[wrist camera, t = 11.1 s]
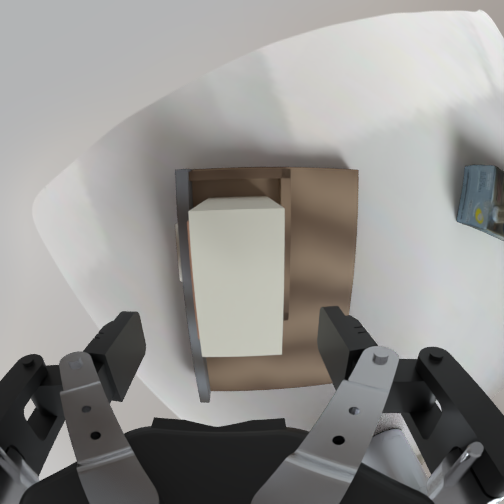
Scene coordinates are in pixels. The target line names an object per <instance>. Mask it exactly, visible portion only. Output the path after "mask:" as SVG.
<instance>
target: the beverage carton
mask: <svg viewBox="0 0 504 504" xmlns="http://www.w3.org/2000/svg"><path fill="white" fill-rule="evenodd" d="M457 222H459V223H462V224H464V225H467V226H471V227H473V228H475V229H478V230H480V231H483V232H485V233H487V234H489V235H491V236H494V237H496V238H498V239H500V240H502V241H504V171H503V170H500V169H499V168H498V167H496V166H494V165H470V166H465V171H464V180H463V188H462V194H461V200H460V205H459V210H458V216H457Z"/></svg>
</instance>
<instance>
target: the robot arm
mask: <svg viewBox="0 0 504 504" xmlns="http://www.w3.org/2000/svg"><path fill="white" fill-rule="evenodd" d="M317 345H318V350H319V353H320V355H321V357H322V360H323V362H324V364H325V367H326V369H327V371H328V373H329V376H330V378H331V380H332V383H333V385H334V387H335V390H336V392H335V394H334V396H333V397H332V399H331V401H330V402H329V404H328V405H327V407H326V408H325V410H324V412H323V413H322V415H321V416H320V418H319V419H318V421H317V422H316V424H315V425H314V426H313V428H312V429H311V431H310V432H308V431H305V430H301V429H296V428H290V427H286V424H285V419H284V418H280V419H267V420H251V421H247V422H242V423H237V424H232V425H227V426H222V427H213V426H208V425H204V424H199V423H195V422H191V421H187V420H178V419H164V418H154V420H153V423H152V426H148V427H143V428H138V429H135V430H132V431H129V432H127V433H125V434H124V433H123V431H122V429H121V427H120V425H119V423H118V421H117V419H116V417H115V415H114V413H113V410H112V408H111V406H110V402H111V401H112V400H113V401H119V402H122V401H123V399H124V397H125V395H126V393H127V390H128V388H129V386H130V384H131V382H132V380H133V378H134V376H135V374H136V372H137V370H138V367H139V365H140V363H141V361H142V359H143V357H144V355H145V351H146V343H145V338H144V334H143V329H142V324H141V319H140V315H139V313H138V312H127V311H122V312H121V313H120V314H119V315H118V316H117V317H116V319H115V320H114V321H111V322H110V323H108V324H106V325H105V326H103V328H102V329H101V330H100V331H99V334H97V335H96V336H95V339H93V340H92V341H91V342H90V343H89V345H88V346H87V347H86V348H85V350H84V351H83V352H73V353H70V354H68V355H66V356H64V357H63V358H62V359H61V361H60V363H59V365H50V366H46V365H45V363H44V360H43V358H42V357H41V356H40V355H37V354H31V355H27V356H24V357H22V358H21V359H19V360H18V362H17V363H16V364H15V365H14V366H13V367H12V368H11V369H10V370H9V372H8V373H7V374H6V375H5V376H4V377H3V379H2V380H1V381H0V504H497V503H499V502H500V501H501V500H502V499H503V498H504V415H503V414H502V413H501V412H500V410H499V409H498V408H497V407H496V406H495V404H494V403H493V402H492V401H491V399H490V398H489V397H488V396H487V395H486V394H485V392H484V391H483V390H482V389H481V388H480V387H479V385H478V384H477V383H476V382H475V381H474V380H473V379H472V378H471V376H470V375H469V374H468V373H467V372H466V371H465V370H464V369H463V368H462V366H461V365H460V364H459V363H458V362H457V361H456V360H455V359H454V358H453V357H452V356H451V355H450V353H448V352H447V351H446V350H444V349H441V348H438V347H427V348H424V349H422V350H421V351H420V353H419V356H418V359H399V356H398V354H397V353H396V352H395V351H394V350H392V349H390V348H387V347H383V346H378V345H377V344H376V342H375V341H374V340H373V339H372V337H371V336H370V335H369V333H368V332H367V331H366V330H365V328H364V327H363V326H362V325H361V323H360V322H359V321H358V320H357V319H355V318H353V317H352V316H350V315H347V316H345V315H344V313H343V312H342V310H341V309H340V308H339V306H328V307H321V308H320V313H319V324H318V336H317ZM30 398H31V399H32V401H33V403H34V404H35V406H36V408H35V409H34V411H33V413H32V414H31V416H30V417H29V419H28V421H26V419H25V417H24V407H25V406H26V404H27V403H28V401H29V400H30ZM436 399H437V400H438V402H439V403H440V405H441V409H442V412H441V410H440V409H439V407H438V406H437V404H436V403H435V401H436ZM382 413H401V415H402V417H403V419H404V420H405V422H406V424H407V426H408V428H409V430H410V432H411V434H412V436H413V438H414V440H415V442H416V444H417V446H418V448H419V450H420V452H421V454H422V456H423V458H424V460H425V462H426V464H427V467H428V468H429V471H430V473H431V476H430V477H429V479H428V477H427V475H426V473H425V472H424V470H423V468H422V466H421V464H420V462H419V460H418V458H417V457H416V455H415V453H414V451H413V449H412V448H411V446H410V444H409V442H408V440H407V439H406V437H405V435H404V433H403V432H402V430H400V429H392V430H388V431H385V432H382V433H380V434H378V435H376V436H374V437H373V435H374V432H375V430H376V427H377V425H378V422H379V420H380V417H381V414H382ZM65 420H66V424H67V428H68V432H69V436H70V440H71V443H72V447H73V450H74V453H75V456H76V459H77V462H75V463H73V464H71V465H70V466H68V467H66V468H64V469H62V470H60V471H59V472H57V473H55V474H53V475H51V476H49V477H47V478H45V479H43V480H41V481H39V478H38V476H39V474H40V472H41V470H42V467H43V465H44V463H45V461H46V458H47V456H48V454H49V451H50V450H51V448H52V446H53V443H54V441H55V439H56V437H57V435H58V433H59V431H60V429H61V427H62V425H63V423H64V421H65Z"/></svg>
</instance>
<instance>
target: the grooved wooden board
mask: <svg viewBox="0 0 504 504" xmlns="http://www.w3.org/2000/svg"><path fill="white" fill-rule="evenodd" d="M175 175H176V200H177V218H178V223H176V224H175V232H176V245H177V257H178V267H179V277H180V281H183V288H184V297H185V306H186V314H187V322H188V329H189V336H190V343H191V350H192V356H193V363H194V369H195V375H196V381H197V386H198V392H199V397H200V402H207V403H209V402H210V393H211V391H249V390H270V389H284V388H296V387H306V386H315V385H323V384H330V383H332V380H331V378H330V376H329V373H328V371H327V369H326V367H325V364H324V362H323V360H322V357H321V355H320V353H319V350H318V345H317V336H318V324H319V313H320V308H321V307H328V306H339V308H340V309H341V310H342V312H343V313H344V315H345V316H347V315H349V309H350V301H351V293H352V284H353V274H354V263H355V251H356V236H357V217H358V170H351V169H334V168H307V167H238V168H211V169H193V170H191V169H179V170H175ZM246 196H267V197H269V198H270V199H272V200H273V201H275V202H276V203H278V204H279V205H280V206H282V207H283V208H285V247H284V305H283V337H282V355H266V356H241V357H202V352H201V344H200V339H198V334H197V326H196V318H195V309H194V300H193V290H192V280H191V269H190V257H189V244H188V230H187V221H189V215H188V211H190V210H191V209H193V208H194V207H196V206H197V205H199V204H200V203H202V202H203V201H205V200H206V199H208V198H216V197H246Z"/></svg>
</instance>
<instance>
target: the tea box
mask: <svg viewBox="0 0 504 504" xmlns="http://www.w3.org/2000/svg"><path fill="white" fill-rule="evenodd" d="M188 215H189V221H187V230H188V244H189V257H190V269H191V280H192V290H193V300H194V309H195V318H196V326H197V334H198V339H200V344H201V352H202V357H241V356H266V355H282V337H283V305H284V247H285V208H283V207H282V206H280V205H279V204H278V203H276V202H275V201H273V200H272V199H270V198H269V197H267V196H246V197H216V198H208V199H206V200H205V201H203V202H202V203H200V204H199V205H197V206H196V207H194V208H193V209H191V210H190V211H188Z"/></svg>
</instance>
